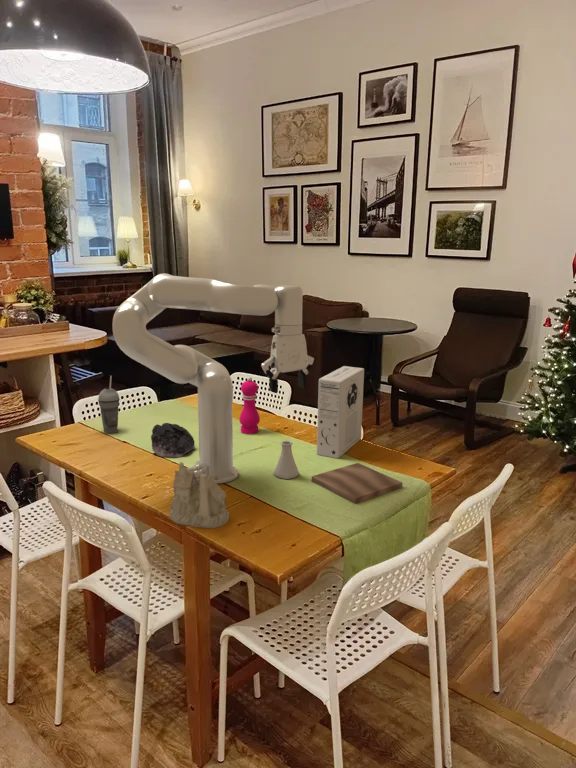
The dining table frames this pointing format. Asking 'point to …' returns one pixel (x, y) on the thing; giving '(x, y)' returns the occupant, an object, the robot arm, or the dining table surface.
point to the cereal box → (339, 411)
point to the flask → (286, 463)
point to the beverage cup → (109, 408)
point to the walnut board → (356, 482)
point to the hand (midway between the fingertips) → (288, 389)
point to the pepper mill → (249, 408)
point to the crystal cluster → (171, 440)
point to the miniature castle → (197, 500)
